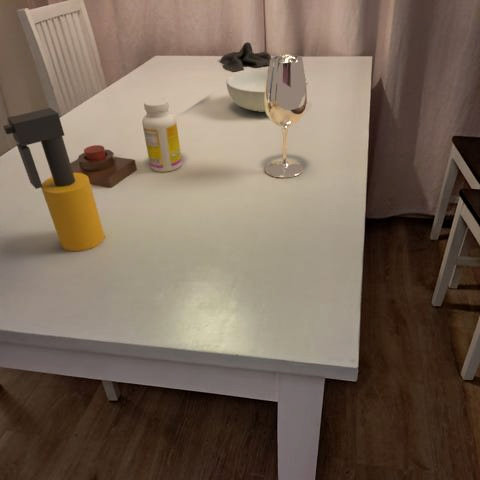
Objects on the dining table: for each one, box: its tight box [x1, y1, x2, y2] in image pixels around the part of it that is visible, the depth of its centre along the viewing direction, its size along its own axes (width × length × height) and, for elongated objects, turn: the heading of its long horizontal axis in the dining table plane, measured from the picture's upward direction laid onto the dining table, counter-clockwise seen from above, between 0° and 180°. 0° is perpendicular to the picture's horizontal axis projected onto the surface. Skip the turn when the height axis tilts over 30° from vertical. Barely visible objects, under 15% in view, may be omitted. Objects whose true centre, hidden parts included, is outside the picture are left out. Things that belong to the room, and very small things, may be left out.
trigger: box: [16, 143, 43, 190], centre depth 66 cm, size 1×3×6 cm, turn 36°
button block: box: [70, 148, 138, 189], centre depth 94 cm, size 12×9×4 cm
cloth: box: [219, 41, 272, 73], centre depth 158 cm, size 22×19×6 cm
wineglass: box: [264, 54, 308, 179], centre depth 87 cm, size 8×8×20 cm
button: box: [83, 144, 106, 160], centre depth 93 cm, size 4×4×2 cm
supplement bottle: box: [141, 97, 183, 173], centre depth 93 cm, size 7×7×13 cm
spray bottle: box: [2, 107, 105, 252], centre depth 69 cm, size 9×7×20 cm
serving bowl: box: [225, 68, 309, 113], centre depth 121 cm, size 21×21×7 cm
